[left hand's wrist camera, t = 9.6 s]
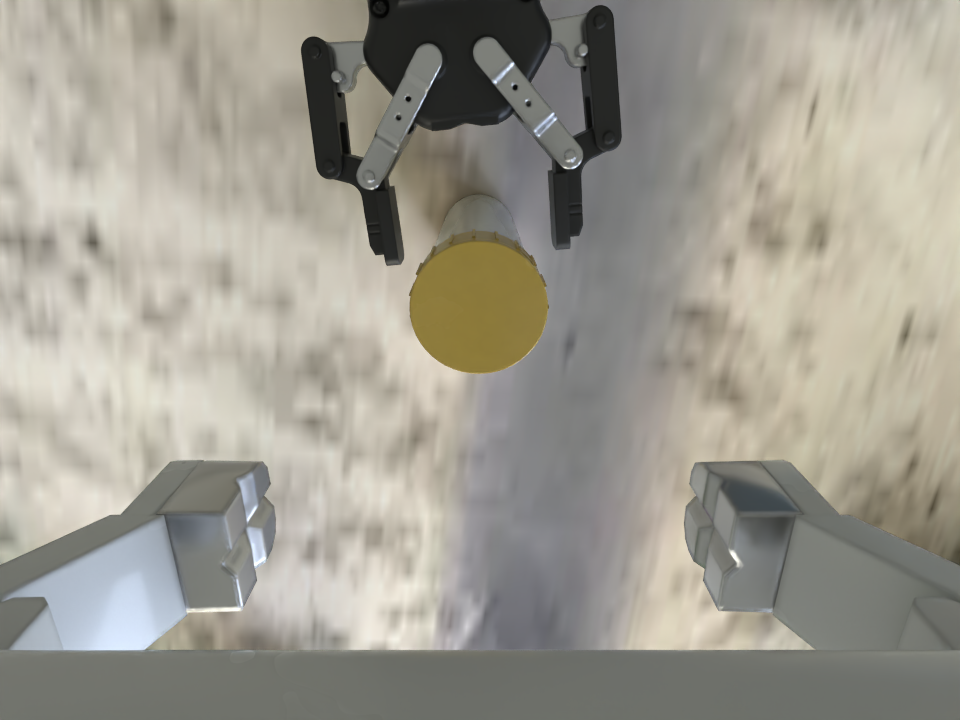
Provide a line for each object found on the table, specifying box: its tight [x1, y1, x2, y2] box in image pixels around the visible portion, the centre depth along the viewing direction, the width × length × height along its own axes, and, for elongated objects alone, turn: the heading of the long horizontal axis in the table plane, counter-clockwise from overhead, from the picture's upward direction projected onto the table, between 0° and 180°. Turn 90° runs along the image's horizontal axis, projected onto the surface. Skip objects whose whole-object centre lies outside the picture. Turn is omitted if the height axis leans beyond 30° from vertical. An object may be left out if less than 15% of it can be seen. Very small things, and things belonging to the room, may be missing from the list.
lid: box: [409, 229, 549, 374], centre depth 22 cm, size 5×5×2 cm
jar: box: [435, 194, 524, 249], centre depth 29 cm, size 4×4×17 cm
